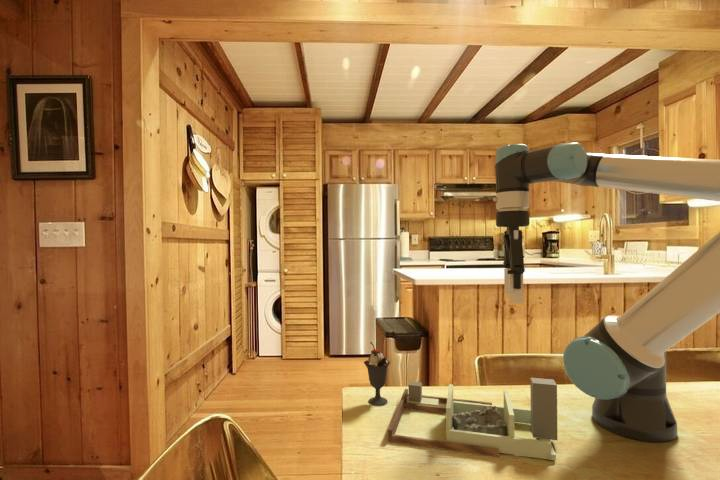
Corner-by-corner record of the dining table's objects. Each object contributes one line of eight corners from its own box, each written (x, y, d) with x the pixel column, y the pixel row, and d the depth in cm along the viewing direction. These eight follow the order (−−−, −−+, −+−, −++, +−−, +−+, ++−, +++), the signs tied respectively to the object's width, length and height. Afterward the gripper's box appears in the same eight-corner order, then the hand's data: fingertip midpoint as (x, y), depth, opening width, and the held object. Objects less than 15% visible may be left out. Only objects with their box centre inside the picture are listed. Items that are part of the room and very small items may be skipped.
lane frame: (492, 407, 92) (491, 397, 92) (498, 456, 71) (498, 444, 71) (405, 398, 98) (404, 388, 98) (388, 441, 77) (388, 429, 77)
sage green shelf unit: (548, 424, 82) (548, 370, 82) (564, 461, 69) (563, 396, 69) (449, 413, 88) (449, 362, 88) (446, 445, 75) (445, 385, 75)
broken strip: (481, 407, 91) (481, 387, 91) (481, 414, 88) (481, 392, 88) (408, 399, 96) (408, 380, 96) (406, 405, 93) (406, 385, 93)
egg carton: (497, 423, 84) (497, 405, 84) (510, 441, 76) (510, 421, 76) (449, 423, 84) (449, 405, 84) (458, 441, 76) (458, 421, 76)
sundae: (366, 395, 99) (365, 339, 99) (391, 396, 99) (390, 339, 98) (363, 407, 93) (362, 346, 93) (390, 408, 92) (389, 347, 92)
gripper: (492, 213, 104) (493, 290, 104) (499, 207, 80) (501, 307, 80) (522, 212, 102) (522, 290, 102) (538, 206, 78) (539, 308, 78)
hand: (513, 298), depth 91 cm, fingers open, 13 cm apart
